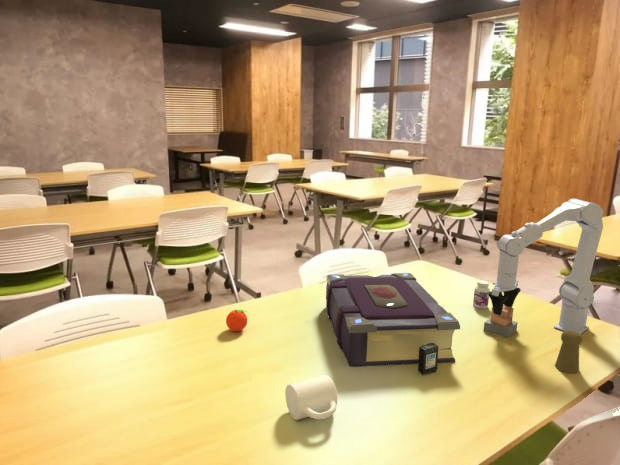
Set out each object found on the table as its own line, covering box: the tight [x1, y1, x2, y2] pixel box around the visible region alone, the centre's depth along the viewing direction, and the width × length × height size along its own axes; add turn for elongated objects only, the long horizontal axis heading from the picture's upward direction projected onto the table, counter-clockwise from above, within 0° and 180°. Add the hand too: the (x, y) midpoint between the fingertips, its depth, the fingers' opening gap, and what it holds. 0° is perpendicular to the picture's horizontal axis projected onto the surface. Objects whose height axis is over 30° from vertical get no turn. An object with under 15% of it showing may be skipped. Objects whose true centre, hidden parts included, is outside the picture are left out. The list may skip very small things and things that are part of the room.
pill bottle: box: [472, 280, 491, 309], centre depth 174 cm, size 5×5×10 cm
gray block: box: [483, 317, 519, 339], centre depth 154 cm, size 8×8×4 cm
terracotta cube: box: [490, 305, 514, 326], centre depth 153 cm, size 5×5×5 cm
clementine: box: [225, 309, 248, 332], centre depth 151 cm, size 8×7×7 cm
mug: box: [284, 374, 338, 421], centre depth 107 cm, size 12×10×8 cm
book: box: [325, 272, 461, 368], centre depth 152 cm, size 33×45×14 cm
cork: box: [554, 331, 583, 375], centre depth 130 cm, size 6×6×11 cm
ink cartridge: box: [417, 343, 438, 376], centre depth 127 cm, size 5×2×8 cm, turn 117°
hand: (502, 311), depth 153 cm, fingers open, 7 cm apart
